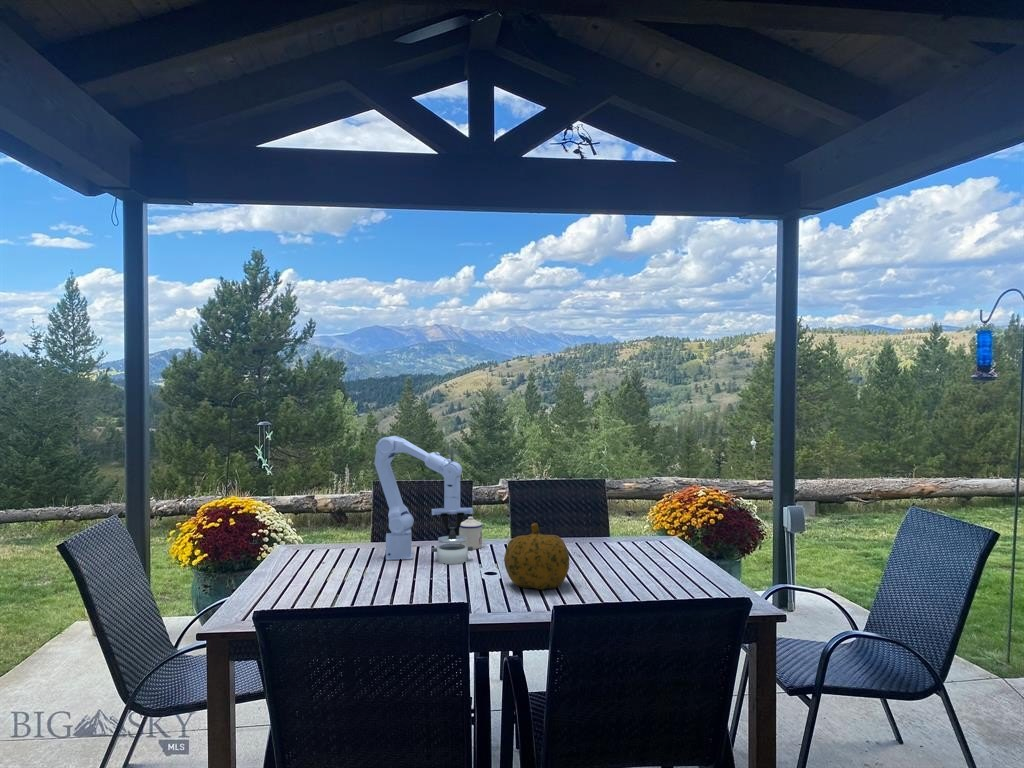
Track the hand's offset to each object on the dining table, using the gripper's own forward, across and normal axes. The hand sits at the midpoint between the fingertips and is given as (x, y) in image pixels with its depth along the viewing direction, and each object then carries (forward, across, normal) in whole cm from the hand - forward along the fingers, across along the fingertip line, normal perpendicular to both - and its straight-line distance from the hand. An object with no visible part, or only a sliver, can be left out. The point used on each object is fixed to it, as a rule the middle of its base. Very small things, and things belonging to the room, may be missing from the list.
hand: (452, 534), depth 260 cm
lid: (+2, 0, 0) cm, 2 cm away
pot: (+9, 0, 0) cm, 9 cm away
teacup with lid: (+10, +8, +21) cm, 24 cm away
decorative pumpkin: (+10, +25, -35) cm, 44 cm away
